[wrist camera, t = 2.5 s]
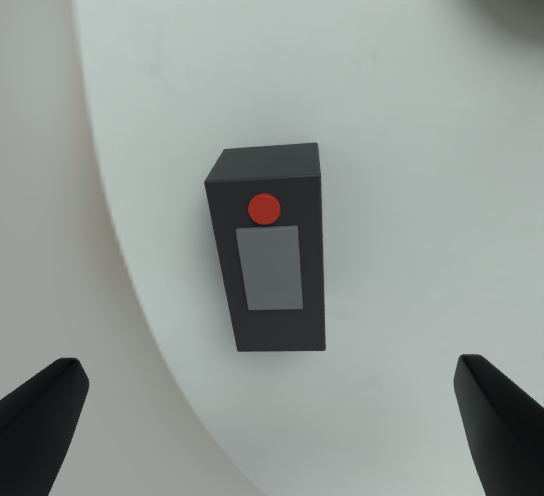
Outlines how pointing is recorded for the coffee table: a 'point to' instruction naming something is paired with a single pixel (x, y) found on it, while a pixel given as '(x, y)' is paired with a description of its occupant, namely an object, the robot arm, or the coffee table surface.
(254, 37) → the coffee table surface
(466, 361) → the robot arm
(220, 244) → the remote
